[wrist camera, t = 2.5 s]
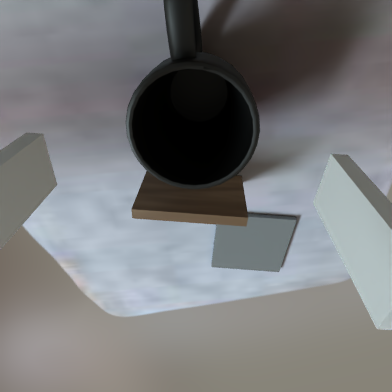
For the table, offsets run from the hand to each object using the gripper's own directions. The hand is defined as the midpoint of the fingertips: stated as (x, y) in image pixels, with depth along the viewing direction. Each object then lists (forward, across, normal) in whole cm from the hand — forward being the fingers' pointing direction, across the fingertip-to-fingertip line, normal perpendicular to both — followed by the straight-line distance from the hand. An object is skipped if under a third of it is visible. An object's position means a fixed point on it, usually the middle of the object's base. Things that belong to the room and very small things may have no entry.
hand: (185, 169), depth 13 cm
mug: (+14, 0, +2) cm, 14 cm away
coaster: (+14, +8, -18) cm, 24 cm away
